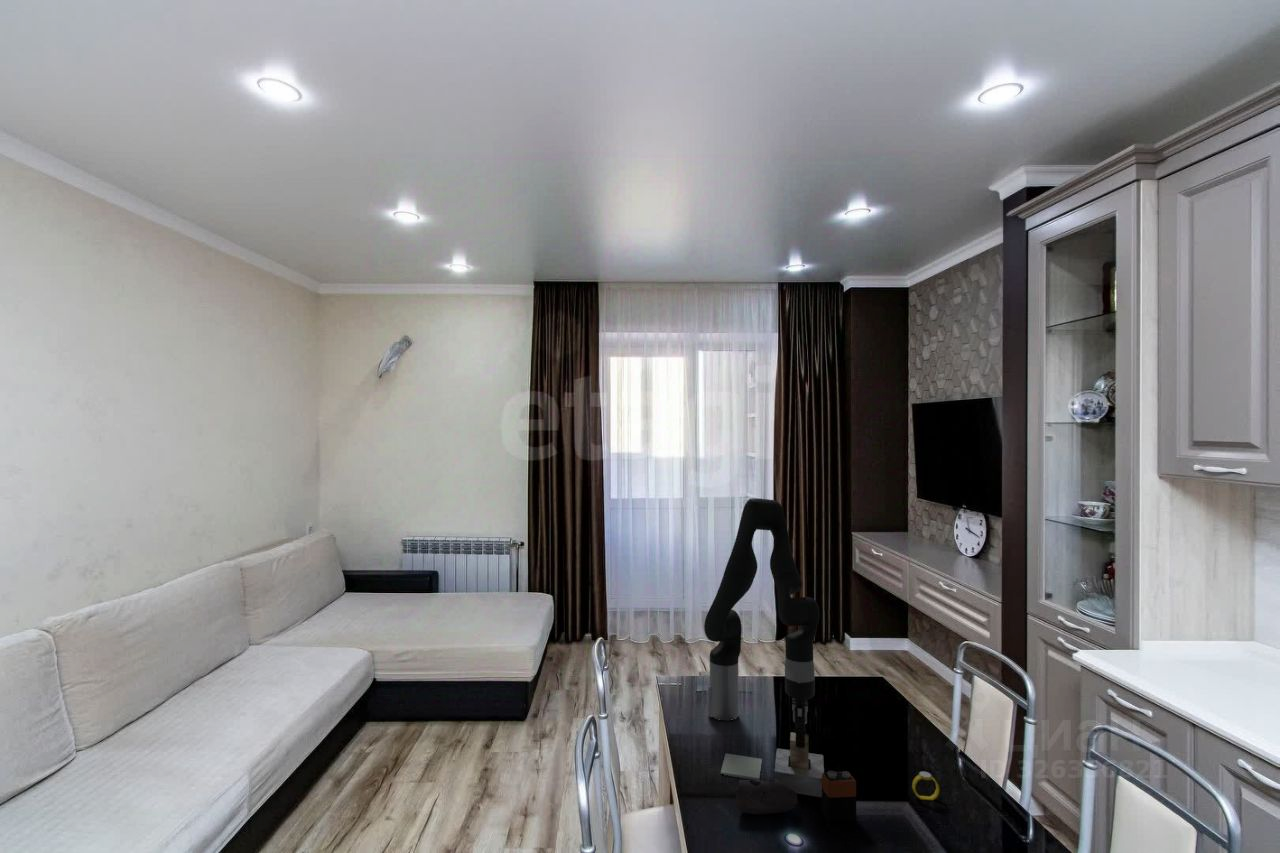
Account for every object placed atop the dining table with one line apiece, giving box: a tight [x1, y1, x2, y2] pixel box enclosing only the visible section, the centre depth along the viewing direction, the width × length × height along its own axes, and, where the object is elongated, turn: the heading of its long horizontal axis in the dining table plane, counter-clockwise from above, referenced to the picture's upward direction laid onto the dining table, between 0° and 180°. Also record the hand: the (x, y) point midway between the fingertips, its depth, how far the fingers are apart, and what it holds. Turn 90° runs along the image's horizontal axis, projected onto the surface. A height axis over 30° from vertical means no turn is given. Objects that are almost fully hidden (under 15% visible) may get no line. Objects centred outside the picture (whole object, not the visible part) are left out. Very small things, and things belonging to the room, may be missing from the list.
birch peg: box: [789, 732, 809, 770], centre depth 151 cm, size 4×4×11 cm
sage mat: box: [720, 753, 763, 781], centre depth 157 cm, size 10×10×1 cm
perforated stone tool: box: [735, 779, 799, 816], centre depth 138 cm, size 15×5×7 cm, turn 90°
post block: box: [773, 748, 825, 798], centre depth 151 cm, size 12×12×4 cm
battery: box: [821, 770, 857, 823], centre depth 137 cm, size 4×7×10 cm, turn 95°
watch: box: [911, 771, 940, 801], centre depth 144 cm, size 6×3×6 cm, turn 84°
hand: (800, 739), depth 151 cm, fingers open, 8 cm apart
